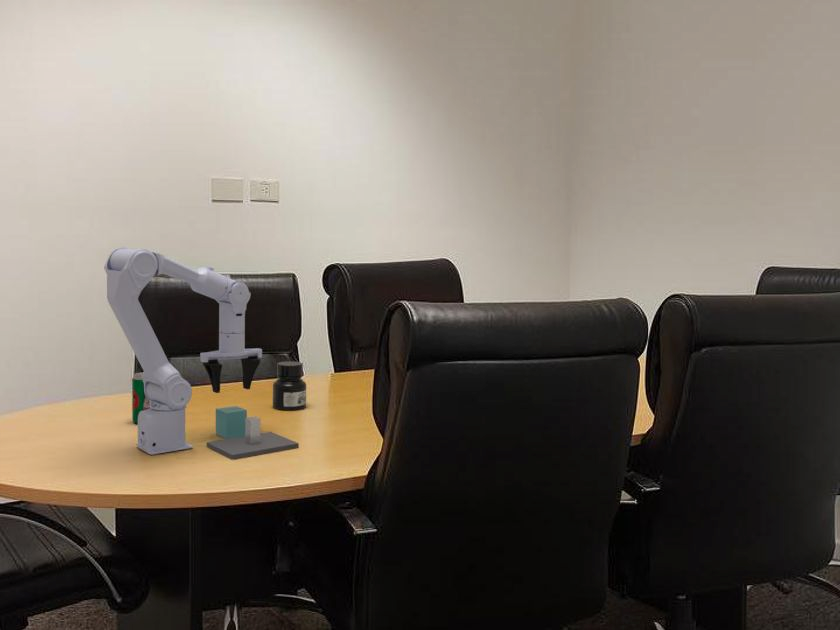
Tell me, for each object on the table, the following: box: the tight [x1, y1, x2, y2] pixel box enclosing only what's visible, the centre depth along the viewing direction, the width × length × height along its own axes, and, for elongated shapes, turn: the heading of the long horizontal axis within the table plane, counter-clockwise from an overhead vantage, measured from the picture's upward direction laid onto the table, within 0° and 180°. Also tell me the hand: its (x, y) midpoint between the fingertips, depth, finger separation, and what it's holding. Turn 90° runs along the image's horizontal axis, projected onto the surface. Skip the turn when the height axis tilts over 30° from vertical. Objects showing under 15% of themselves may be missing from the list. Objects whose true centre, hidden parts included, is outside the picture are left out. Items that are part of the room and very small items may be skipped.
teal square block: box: [215, 405, 248, 439], centre depth 181 cm, size 5×5×6 cm
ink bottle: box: [272, 361, 307, 411], centre depth 211 cm, size 10×9×12 cm
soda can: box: [131, 371, 150, 425], centre depth 190 cm, size 5×5×12 cm
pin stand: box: [206, 415, 300, 460], centre depth 171 cm, size 16×12×6 cm
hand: (231, 390), depth 181 cm, fingers open, 7 cm apart
